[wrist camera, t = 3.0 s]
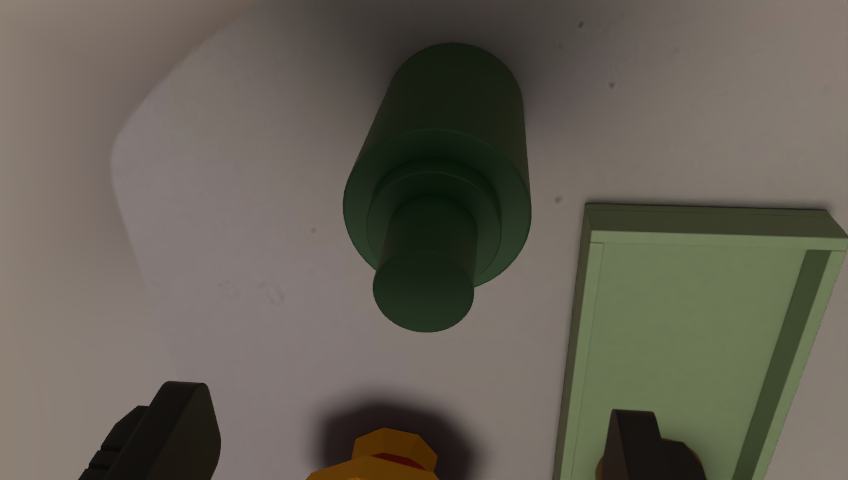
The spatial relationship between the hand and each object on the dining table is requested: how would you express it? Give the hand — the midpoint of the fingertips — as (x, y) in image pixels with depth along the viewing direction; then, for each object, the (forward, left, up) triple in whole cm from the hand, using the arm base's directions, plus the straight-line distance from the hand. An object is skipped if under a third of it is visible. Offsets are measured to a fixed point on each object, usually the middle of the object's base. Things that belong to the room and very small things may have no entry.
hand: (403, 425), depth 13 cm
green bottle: (0, 0, -17) cm, 17 cm away
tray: (+21, -5, -17) cm, 28 cm away
